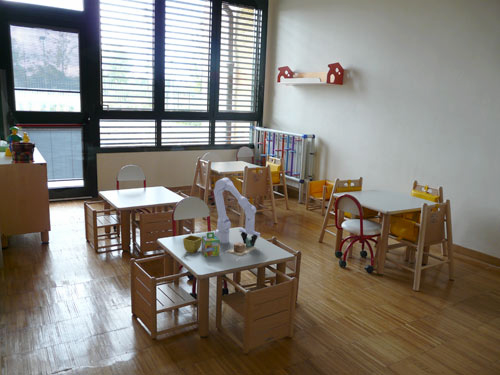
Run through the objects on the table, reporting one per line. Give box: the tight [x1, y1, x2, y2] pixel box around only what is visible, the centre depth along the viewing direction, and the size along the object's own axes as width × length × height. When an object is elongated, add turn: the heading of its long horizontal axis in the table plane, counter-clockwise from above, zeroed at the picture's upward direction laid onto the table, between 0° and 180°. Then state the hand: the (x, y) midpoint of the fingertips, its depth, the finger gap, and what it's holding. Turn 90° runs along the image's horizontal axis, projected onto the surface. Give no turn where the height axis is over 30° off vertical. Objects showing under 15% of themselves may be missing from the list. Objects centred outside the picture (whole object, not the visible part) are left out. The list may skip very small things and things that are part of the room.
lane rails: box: [218, 246, 260, 262], centre depth 267 cm, size 14×26×2 cm, turn 149°
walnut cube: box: [233, 241, 246, 253], centre depth 266 cm, size 5×5×5 cm
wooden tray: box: [227, 236, 257, 257], centre depth 270 cm, size 10×19×6 cm, turn 149°
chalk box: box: [201, 231, 221, 258], centre depth 260 cm, size 9×9×15 cm
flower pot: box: [182, 234, 202, 254], centre depth 266 cm, size 9×9×9 cm
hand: (249, 244), depth 276 cm, fingers closed on wooden tray, 6 cm apart
